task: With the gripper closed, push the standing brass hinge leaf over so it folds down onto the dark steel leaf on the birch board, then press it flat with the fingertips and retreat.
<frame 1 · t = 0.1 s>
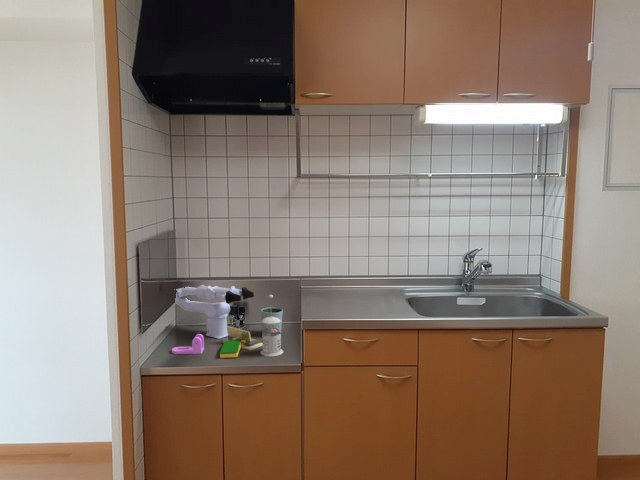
hand: (247, 296, 216), 22 cm above the table, tool horizontal, fingers open, 7 cm apart
drinking glass: (272, 334, 232), on the table
french press: (271, 351, 209), on the table
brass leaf: (239, 335, 217), point 4 cm above the table, hinge at 100.0°
bracket: (187, 352, 210), on the table
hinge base: (240, 344, 218), on the table
dish sponge: (231, 351, 208), on the table, touching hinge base
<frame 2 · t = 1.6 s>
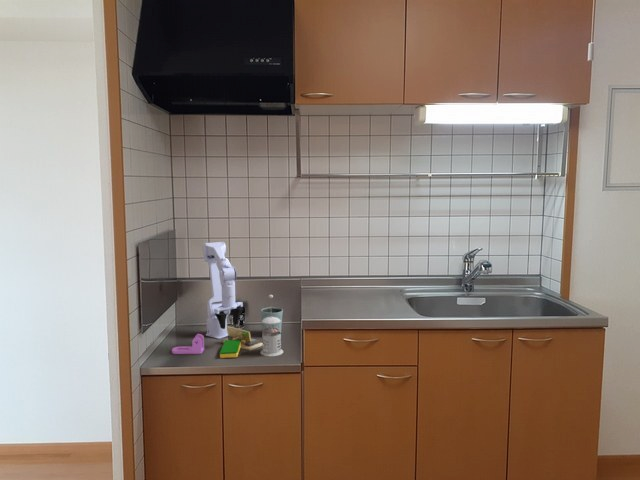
hand: (229, 326, 212), 10 cm above the table, tool pointing down, fingers open, 7 cm apart
nothing on the table moved.
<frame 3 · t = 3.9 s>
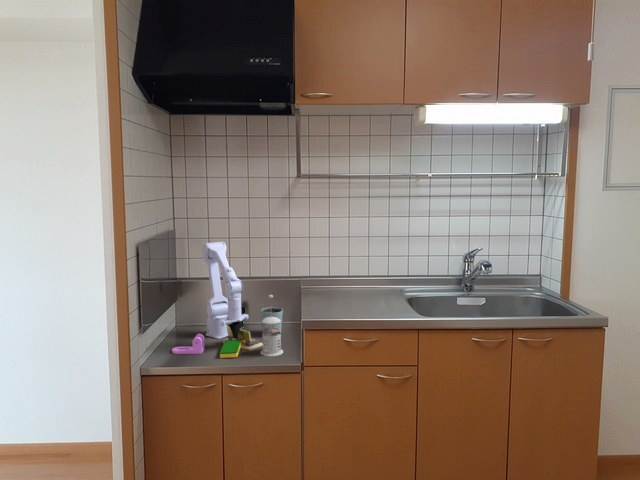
hand: (235, 338, 215), 4 cm above the table, tool pointing down, fingers closed, pressing on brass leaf
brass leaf: (239, 335, 217), point 4 cm above the table, hinge at 99.8°, touching gripper
everything else where it was.
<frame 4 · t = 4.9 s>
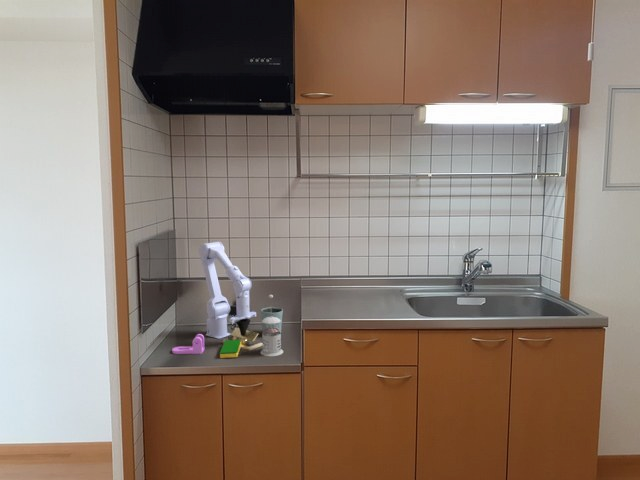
hand: (243, 335, 219), 4 cm above the table, tool pointing down, fingers closed, pressing on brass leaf
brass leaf: (243, 336, 219), point 3 cm above the table, hinge at 35.3°, touching gripper
everything else where it was.
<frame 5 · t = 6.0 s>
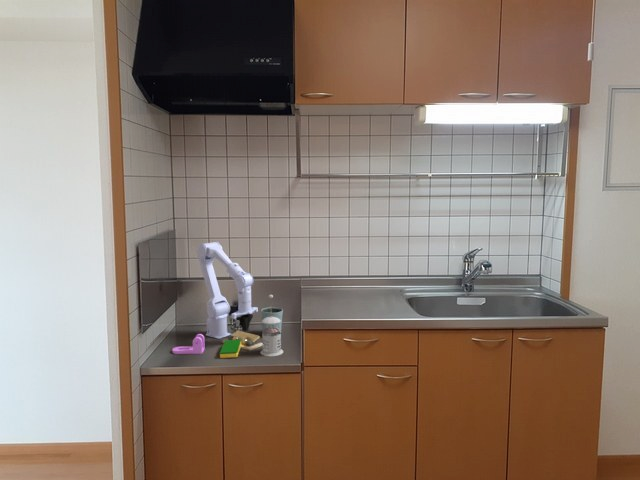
hand: (245, 330, 220), 6 cm above the table, tool pointing down, fingers closed
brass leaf: (243, 337, 219), point 3 cm above the table, hinge at 16.0°
everything else where it was.
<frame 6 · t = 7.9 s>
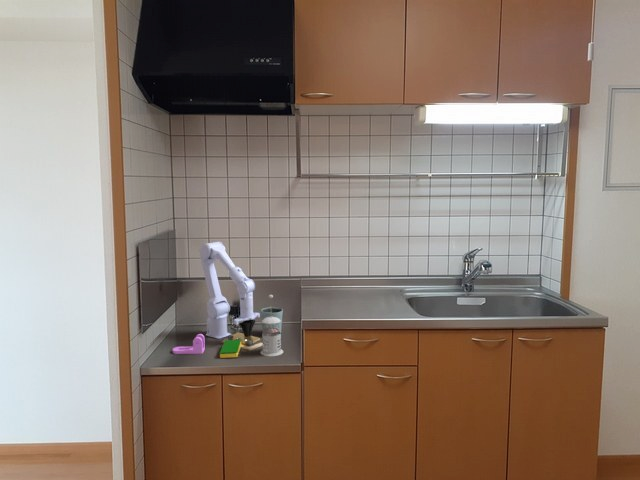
hand: (247, 336, 221), 3 cm above the table, tool pointing down, fingers closed, pressing on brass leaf
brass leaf: (243, 338, 219), point 2 cm above the table, hinge at 5.2°, touching gripper
everything else where it was.
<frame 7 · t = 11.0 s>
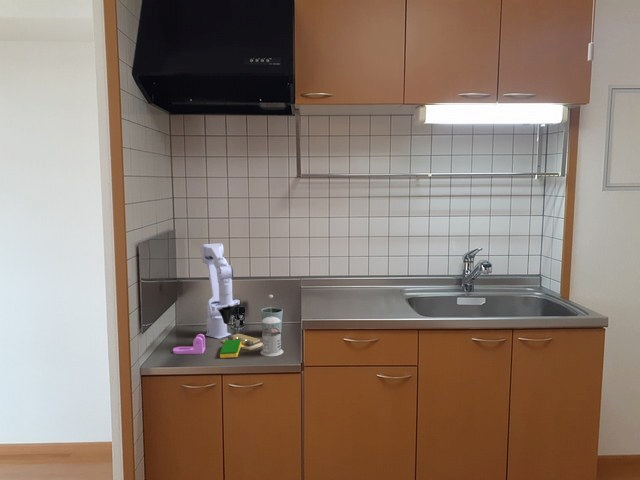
hand: (226, 323, 216), 10 cm above the table, tool pointing down, fingers closed
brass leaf: (243, 339, 219), point 2 cm above the table, hinge at -0.8°, touching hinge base
everything else where it was.
at the end: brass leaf at -1° (first picture: +100°) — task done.
